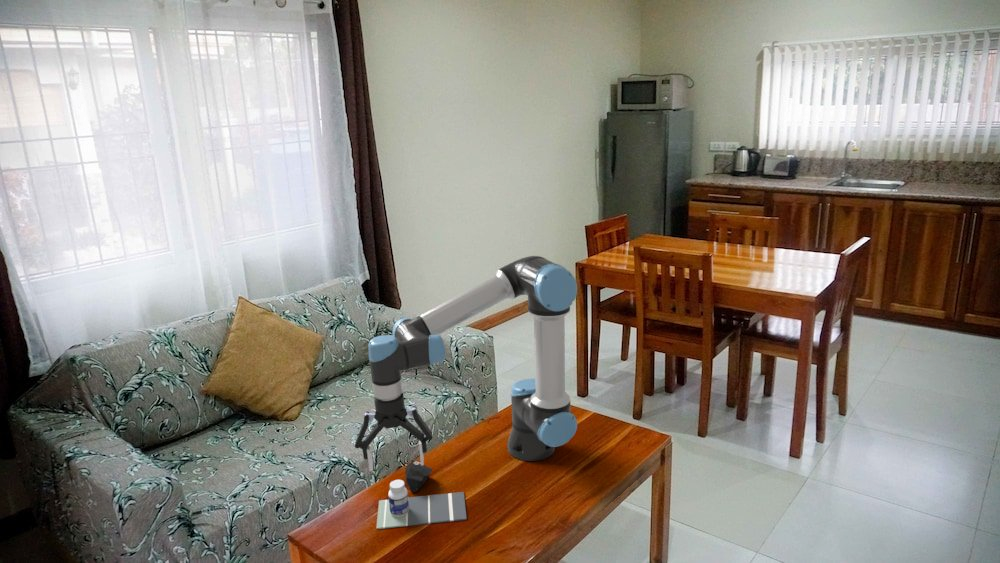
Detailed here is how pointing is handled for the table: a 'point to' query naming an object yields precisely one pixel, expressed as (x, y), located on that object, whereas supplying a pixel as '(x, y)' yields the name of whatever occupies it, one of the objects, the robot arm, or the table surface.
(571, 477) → the table surface
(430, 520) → the lane
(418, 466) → the rock
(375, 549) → the table surface
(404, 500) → the pill bottle
